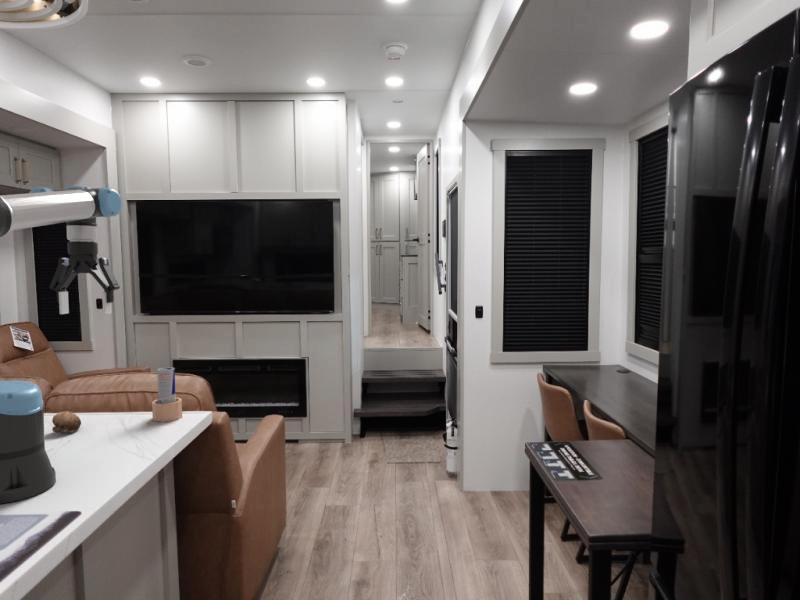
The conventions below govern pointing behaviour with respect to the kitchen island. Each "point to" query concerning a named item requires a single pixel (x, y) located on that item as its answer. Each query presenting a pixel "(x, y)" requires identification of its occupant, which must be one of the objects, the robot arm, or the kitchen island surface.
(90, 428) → the kitchen island surface
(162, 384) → the beverage can
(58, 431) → the mushroom
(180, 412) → the light orange hollow cylinder
